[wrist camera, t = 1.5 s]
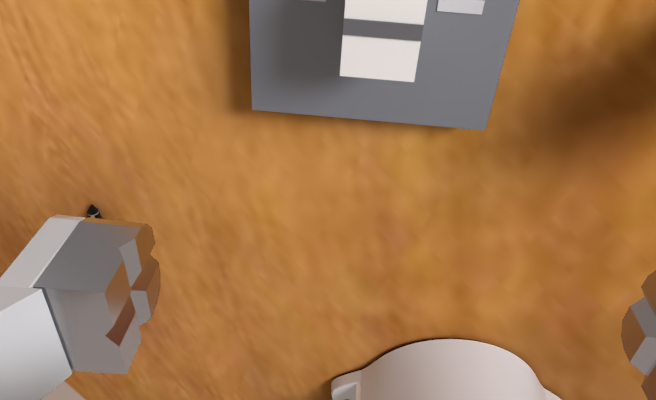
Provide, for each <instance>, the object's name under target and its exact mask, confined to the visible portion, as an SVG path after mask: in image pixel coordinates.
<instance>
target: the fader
mask: <svg viewBox="0 0 656 400" xmlns="http://www.w3.org/2000/svg"><path fill="white" fill-rule="evenodd" d="M427 1H428V0H345V12H344V24H343V38H342V51H341V64H340V76H346V77H358V78H369V79H381V80H393V81H404V82H414V80H415V74H416V68H417V62H418V56H419V50H420V44H421V39H422V33H423V27H424V19H425V13H426V7H427Z"/></svg>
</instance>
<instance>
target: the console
mask: <svg viewBox="0 0 656 400" xmlns="http://www.w3.org/2000/svg"><path fill="white" fill-rule="evenodd" d="M519 1H520V0H428V1H427V7H426V13H425V19H424V27H423V33H422V39H421V44H420V50H419V56H418V62H417V68H416V74H415V80H414V82H404V81H393V80H381V79H369V78H358V77H346V76H340V64H341V51H342V38H343V24H344V12H345V0H249V22H250V58H251V95H252V110H259V111H270V112H282V113H293V114H304V115H316V116H327V117H338V118H350V119H361V120H372V121H384V122H395V123H406V124H418V125H429V126H440V127H452V128H463V129H474V130H486V126H487V122H488V119H489V115H490V111H491V107H492V103H493V100H494V96H495V92H496V88H497V84H498V81H499V77H500V73H501V69H502V65H503V62H504V58H505V54H506V50H507V46H508V43H509V39H510V35H511V31H512V27H513V24H514V20H515V16H516V12H517V9H518V5H519Z"/></svg>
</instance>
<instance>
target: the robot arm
mask: <svg viewBox="0 0 656 400" xmlns="http://www.w3.org/2000/svg"><path fill="white" fill-rule="evenodd" d="M154 245H155V240H154V235H153V230H152V227H150V226H149V225H148V224H143V223H134V222H125V221H116V220H108V219H99V218H90V217H87V218H84V217H76V216H67V215H58V214H57V215H55V216H53V217H50V218H49V219H48V220H47V221H46V222H45V223H44V224H43V226H42V227H41V228H40V229H39V231H38V232H37V233H36V234H35V235H34V237H33V238H32V239H31V240H30V242H29V243H28V244H27V245H26V247H25V248H24V249H23V250H22V252H21V253H20V254H19V255H18V256H17V258H16V259H15V260H14V261H13V263H12V264H11V265H10V266H9V268H8V269H7V270H6V271H5V273H4V274H3V275H2V276H1V277H0V400H42V399H43V398H44V397H45V396H47V395H48V394H49V393H50V392H51V391H52V390H54V389H55V388H56V387H57V386H58V385H59V384H61V383H62V382H63V381H64V380H66V379H67V378H68V377H69V376H70V375H72V371H85V372H100V373H115V374H127V372H128V370H129V367H130V365H131V363H132V361H133V358H134V356H135V354H136V352H137V349H138V347H139V345H140V343H141V340H142V339H141V334H140V330H139V326H141V325H142V324H143V323H145V322H146V321H148V320H149V319H151V317H152V315H153V312H154V310H155V308H156V305H157V301H158V296H159V292H160V268H159V263H158V262H157V261H156V260H155V259H154V258H153V257H152V256H151V255H150V253H151V251H152V249H153V247H154ZM641 288H642V291H643V293H644V296H645V298H643V299H641V300H639V301H638V302H636V303H634V304H632V305H631V306H630V307H629V309H628V311H627V313H626V314H625V316H624V318H623V320H622V332H621V338H622V343H623V348H624V351H625V353H626V355H627V357H628V359H629V362H630V363H631V364H633V365H634V366H635V367H636V368H637V369H639V370H640V371H641V372H642V373H643V374H645V377H644V380H643V383H642V386H641V387H642V389H643V391H644V393H645V395H646V397H647V399H648V400H656V271H654V272H653V273H651V274H650V275H648V277H647V278H646V280H645V281H644V283H643V285H642V286H641ZM331 396H332V400H561V399H560V398H559V397H557V396H556V395H554V394H553V393H551V392H550V391H548V390H546V389H544V388H543V386H542V385H541V384H540V382H539V381H538V379H537V377H536V375H535V373H534V372H533V370H532V369H531V368H530V367H529V366H528V365H527V364H526V363H525V362H524V361H523V360H522V359H520V358H519V357H517V356H516V355H514V354H512V353H511V352H509V351H507V350H504V349H502V348H500V347H497V346H494V345H490V344H487V343H483V342H478V341H472V340H462V339H438V340H429V341H423V342H418V343H414V344H410V345H407V346H403V347H401V348H398V349H396V350H393V351H391V352H389V353H387V354H385V355H384V356H382V357H381V358H379V359H378V360H376V361H375V362H374V363H372V364H371V365H369V366H368V367H366V368H364V369H362V370H359V371H356V372H352V373H349V374H345V375H342V376H340V377H337V378H335V379H334V380H333V381H332V383H331Z"/></svg>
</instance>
